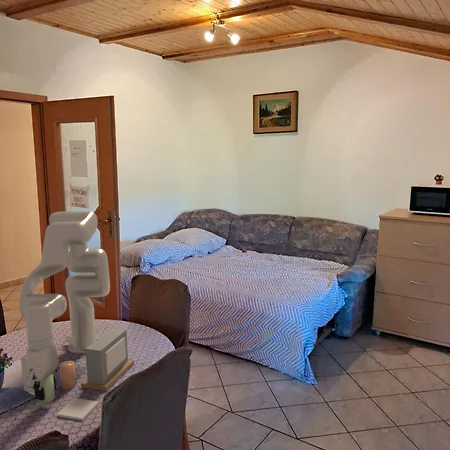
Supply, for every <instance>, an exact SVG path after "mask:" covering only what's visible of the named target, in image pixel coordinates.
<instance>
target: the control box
mask: <svg viewBox="0 0 450 450" xmlns="http://www.w3.org/2000/svg"><path fill="white" fill-rule="evenodd" d="M127 334H128V333H127V329H123V328H122V329H121V328H115V327H114V328H113V327H112V328H111V329H109V330H108V331H107V332H105V333H104V334H102V335H101V336H100V337H98V338H96V339H97V340H96V341H95V342H94V343H92V344H91V345H90V346H88V347H87V348H86V349H85V352H86V353H85V363H86V364H85V365H86V366H85V367H86V378H85V379H84V380H83V381H81V383H80V388H82V389H83V388H84V389H89V390H96V391H97V390H98V391H103V392H108V391H109V390H110V389H111V388H112V387H113V386H114V384H116V383H117V381H119V380H120V379H121V378H122V376H124V375H125V374H126V373H127V371H128V370H129V369H131V367H133V365H134V364H135V359H129V355H128V354H129V353H128V335H127Z"/></svg>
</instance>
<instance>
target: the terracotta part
mask: <svg viewBox="0 0 450 450" xmlns="http://www.w3.org/2000/svg"><path fill="white" fill-rule="evenodd" d="M58 370H59V379H60V388H61V389H62V390H65V389H66V390H71V389H74V388H75V387H76V385H77V378H76V377H77V376H76V363H75V361H73V360H66V361H63V362H60V365H59V367H58Z"/></svg>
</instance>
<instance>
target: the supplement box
mask: <svg viewBox="0 0 450 450" xmlns="http://www.w3.org/2000/svg"><path fill="white" fill-rule="evenodd" d="M20 363H21V371H22V372H21V373H22V384H23V390H24V389H25V390H27V391H29V392H31V393H33V394H35V392H34V389H33V388H31V387H28V386H26V384H27V381H28V380H27V377H26V354H25V355H23V356H21V358H20Z"/></svg>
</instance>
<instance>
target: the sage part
mask: <svg viewBox="0 0 450 450" xmlns="http://www.w3.org/2000/svg"><path fill="white" fill-rule="evenodd" d="M37 384H38V385H39V381H37ZM42 388H44V393H45V400H43V401H42V400H37V401H38V403H49V402H51V401H53V400H54V399H55V398H56V394H55V390H54V381H53V373H51V374H49V375H48V376H47V377H45V378H44V379H43V386H42Z"/></svg>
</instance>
